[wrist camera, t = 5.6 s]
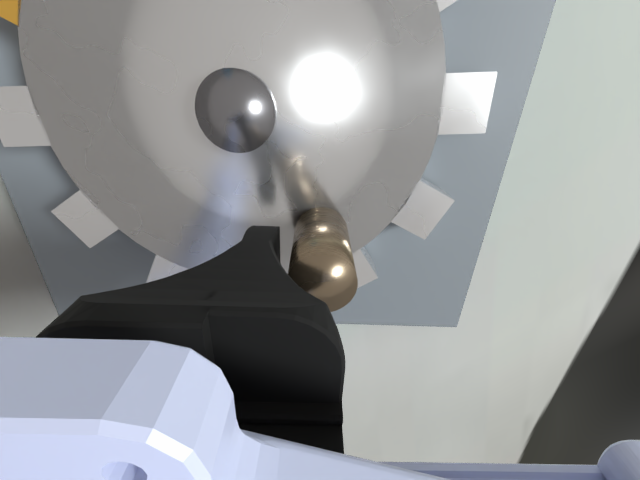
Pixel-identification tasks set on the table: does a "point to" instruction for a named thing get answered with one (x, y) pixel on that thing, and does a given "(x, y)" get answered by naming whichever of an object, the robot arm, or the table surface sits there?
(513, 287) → the table surface
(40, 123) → the sprocket
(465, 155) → the base plate
